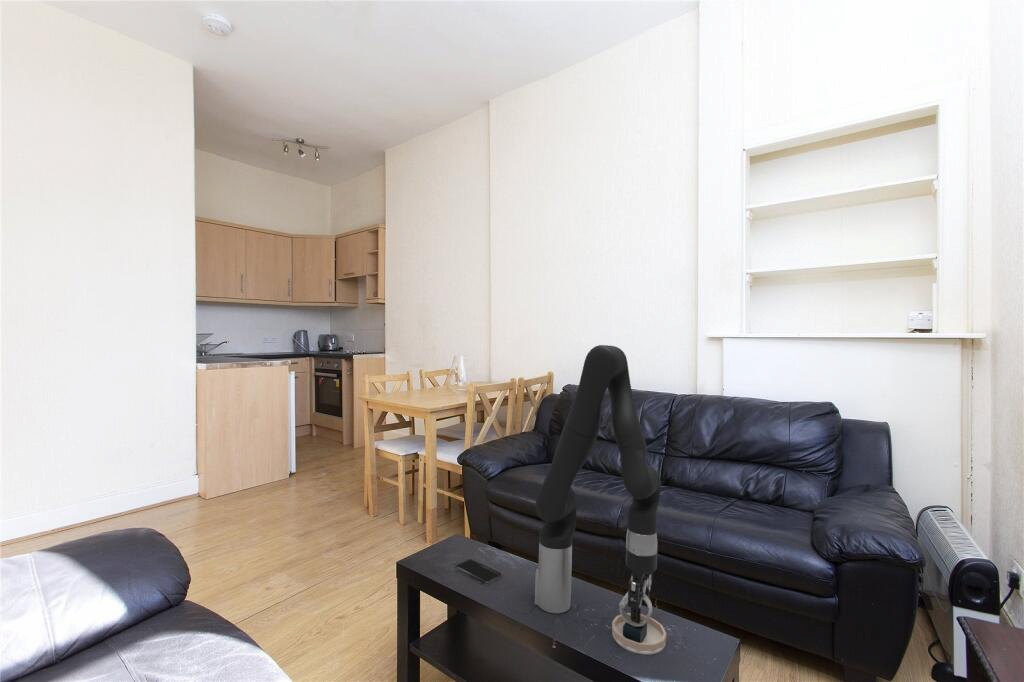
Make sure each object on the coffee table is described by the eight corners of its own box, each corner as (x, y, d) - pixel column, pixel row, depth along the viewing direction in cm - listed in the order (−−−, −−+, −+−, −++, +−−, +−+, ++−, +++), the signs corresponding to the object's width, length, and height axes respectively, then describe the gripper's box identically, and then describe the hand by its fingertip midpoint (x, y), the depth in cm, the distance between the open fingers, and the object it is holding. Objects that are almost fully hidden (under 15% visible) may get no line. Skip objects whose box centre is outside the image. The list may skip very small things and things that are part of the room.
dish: (605, 642, 110) (605, 632, 110) (621, 616, 121) (621, 607, 121) (658, 661, 103) (659, 651, 103) (670, 632, 114) (670, 623, 114)
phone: (485, 583, 134) (453, 565, 145) (485, 587, 134) (453, 569, 145) (503, 574, 140) (471, 558, 150) (503, 577, 140) (471, 561, 150)
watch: (622, 625, 115) (623, 582, 116) (653, 637, 111) (655, 591, 112) (614, 636, 111) (616, 590, 111) (647, 648, 106) (648, 601, 107)
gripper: (634, 534, 121) (632, 595, 120) (618, 554, 108) (616, 622, 108) (663, 541, 117) (661, 604, 116) (649, 562, 104) (648, 633, 104)
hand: (640, 613), depth 112 cm, fingers open, 8 cm apart
